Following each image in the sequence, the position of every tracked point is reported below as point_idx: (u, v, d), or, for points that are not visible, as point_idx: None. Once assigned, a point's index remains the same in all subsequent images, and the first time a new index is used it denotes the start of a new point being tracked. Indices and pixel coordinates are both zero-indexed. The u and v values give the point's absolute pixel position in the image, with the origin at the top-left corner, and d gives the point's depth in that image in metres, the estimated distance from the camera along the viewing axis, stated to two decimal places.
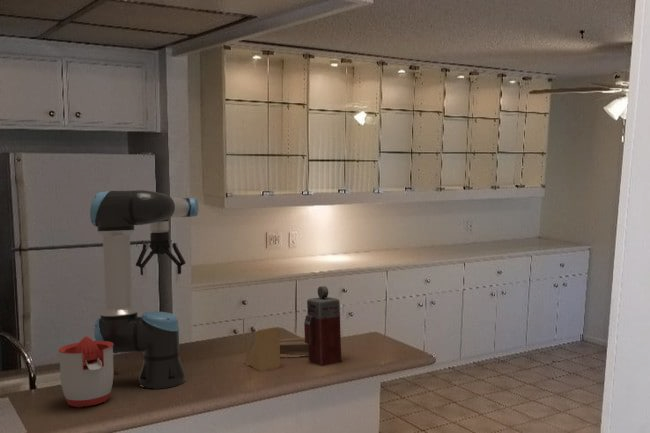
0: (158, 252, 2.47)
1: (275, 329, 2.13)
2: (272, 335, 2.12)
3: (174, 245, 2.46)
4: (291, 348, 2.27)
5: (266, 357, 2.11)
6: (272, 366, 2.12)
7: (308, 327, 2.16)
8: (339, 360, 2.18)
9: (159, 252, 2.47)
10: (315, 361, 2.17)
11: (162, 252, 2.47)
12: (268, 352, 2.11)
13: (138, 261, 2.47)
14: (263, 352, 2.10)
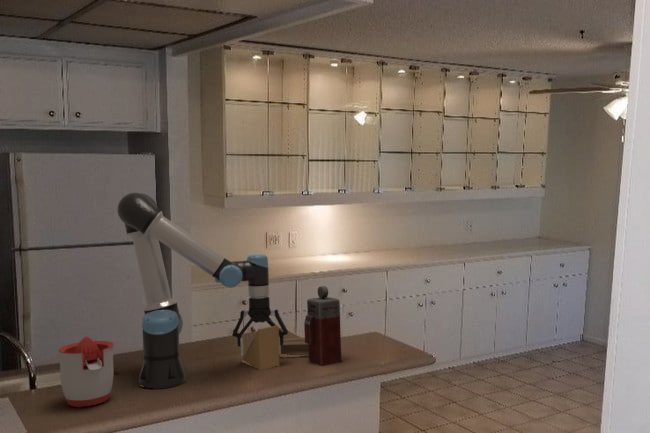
0: (258, 320, 2.16)
1: (274, 328, 2.14)
2: (271, 334, 2.14)
3: (276, 312, 2.16)
4: (291, 348, 2.27)
5: (265, 356, 2.12)
6: (271, 364, 2.13)
7: (308, 327, 2.16)
8: (339, 360, 2.18)
9: (259, 320, 2.16)
10: (315, 361, 2.17)
11: (262, 320, 2.17)
12: (267, 351, 2.13)
13: (235, 331, 2.16)
14: (263, 351, 2.12)
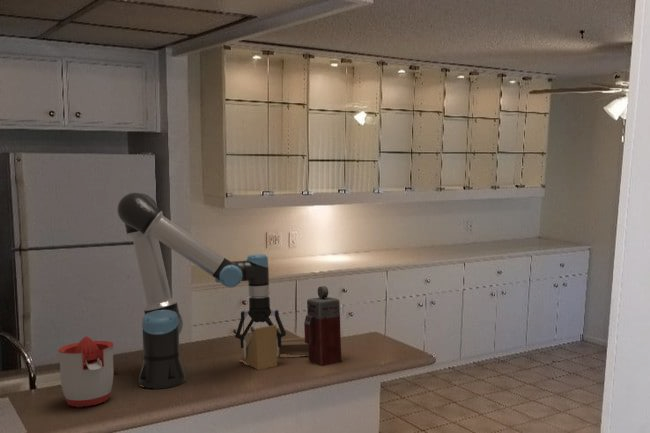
0: (258, 320, 2.17)
1: (272, 328, 2.15)
2: (269, 333, 2.14)
3: (276, 313, 2.16)
4: (291, 348, 2.27)
5: (263, 355, 2.12)
6: (269, 364, 2.14)
7: (308, 327, 2.16)
8: (339, 360, 2.18)
9: (259, 320, 2.17)
10: (315, 361, 2.17)
11: (263, 320, 2.17)
12: (265, 350, 2.13)
13: (238, 332, 2.16)
14: (260, 350, 2.12)
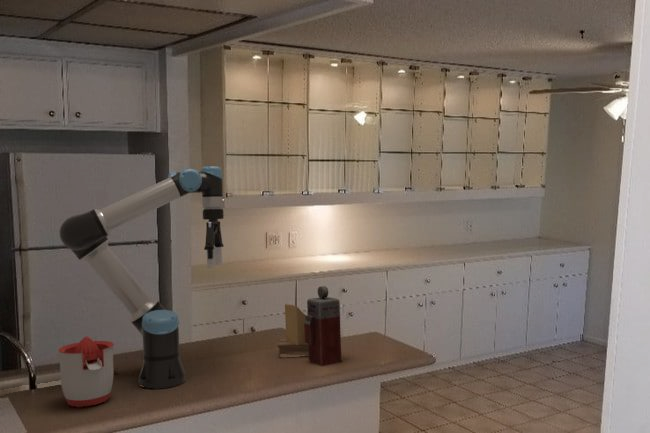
0: None
1: (294, 307, 2.27)
2: (292, 312, 2.28)
3: None
4: (291, 348, 2.27)
5: (289, 330, 2.31)
6: (292, 340, 2.29)
7: (308, 327, 2.16)
8: (339, 360, 2.18)
9: None
10: (315, 361, 2.17)
11: None
12: (290, 326, 2.30)
13: None
14: (287, 325, 2.31)
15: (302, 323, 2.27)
